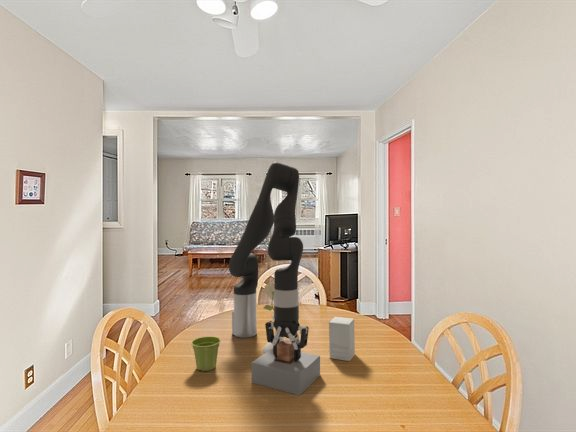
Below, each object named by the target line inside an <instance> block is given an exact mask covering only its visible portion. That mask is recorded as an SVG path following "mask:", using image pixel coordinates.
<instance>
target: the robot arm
mask: <svg viewBox="0 0 576 432" xmlns="http://www.w3.org/2000/svg"><path fill="white" fill-rule="evenodd" d="M299 184H300V172H299V169H297V168H295V167H293V166H290V165H287V164H284V163H281V162H278V161H274V162H272V163H271V164H270V165H269V168H268V169H267V173H266V175H265V178H264V180H263V184H262V187H261V191H260V193H259V196H258V198H257V201H256V203H255V205H254V207H253V210H252V212H251V214H250V217H249V218H248V220H247V224H246V226H245V229H244V232H243V234H242V236H241V238H240V240H239V242H238V245H237V246H236V247H235V250H234V251H233V253H232V255H231V257H230V259H229V263H228V271H229V273H230V275H231V276H232V277H234V278H241V277H242V279H241V280H240V281H239V282H238V283H237V284H235V285H234V287H233V310H232V312H231V331H232V332H231V335H234V337H236V338H239V339H240V338H241V339H243V338H244V339H245V338H247V339H248V338H253V337H255V336H256V335H257V331H258V330H257V329H258V328H257V323H258V322H257V310H258V309H257V287H258V284H259V260H258V257H257V256H256V254H255V253H252V252H253V251H254V250H255V249H256V248H257V247H258V246H260V245H261V244H262V243H263V242H264V241H265V240H266V238H268V236H269V235H270V232H271V230H272V229H273V231H272V234H271V238H270V240H269V243H268V246H267V255H268V257H269V258H270V259H271V260H272V261H276V262H277V261H278V262H280V261H281V262H283V261H284V262H285V261H287V262H288V261H290V264H289V265H287V266H283V267H279V268H277V269H275V271H274V274H273V276H274V278H273V279H274V281H273V282H274V283H273V284H274V288H275V289H274V300H273V308H274V310H273V315H274V319H275V320H269V321H267V322H265V324H264V327H265V335H266V341H267V343H268V342H271V343H272V344H273V354H274V355H275V357H276V358H277V343H279V342H280V340H281V337H283V338H286V339H289V341H291V343H293V346H294V348H295V349H294V361H295V362H297V361H298V360H299V359H300V358H301V352H302V349H304V348H305V347H306V346H307V345H308V339H309V330H310V328H309V326H302V325H300V323H299V319H300V314H299V313H300V310H299V308H300V307H299V306H300V301H299V298H300V297H299V287H298V284H299V283H298V282H299V281H298V280H299V279H298V277H299V276H298V275H299V268H300V262H301V258H302V256H303V252H304V244H303V241H302V239H301V238H300V237H297V236H294V235H295V234H296V232H297V221H296V220H297V218H296V207H297V200H298V195H299V194H298V193H299V186H300V185H299ZM273 189H274V190H279V191H281V192H282V191H283V192H286V196H285V198H283V200H281V202H279V204H278V205H277V206H276V207H275V210H273V206H272V198H271V194H272V192H273V191H272V190H273ZM274 329H276V331H277V332H276V334H275V330H274ZM298 332H299V333H298ZM299 334H300V336H299Z"/></svg>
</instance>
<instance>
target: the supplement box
mask: <svg viewBox="0 0 576 432" xmlns="http://www.w3.org/2000/svg"><path fill="white" fill-rule="evenodd" d="M328 333H329V334H328V336H329V337H328V339H329V343H328V344H329V345H328V347H329V348H328V349H329V359H332V360H333V359H335V360H340V361H346V362H351V360H352V359H353V357H354V356H355V354H356V351H355V345H356V343H355V318H350V317H341V316H334V317H333V318H332V319H331V320H330V321H328Z"/></svg>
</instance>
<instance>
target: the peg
mask: <svg viewBox="0 0 576 432" xmlns="http://www.w3.org/2000/svg"><path fill="white" fill-rule="evenodd" d="M294 349H295V348H294V346H293V343H291V341H290V339H289V340H288V339H285V340H282V341H280V342H279V343H277V362H282V363H286V364H291V363H293V362H294Z"/></svg>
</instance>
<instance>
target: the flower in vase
mask: <svg viewBox="0 0 576 432" xmlns="http://www.w3.org/2000/svg"><path fill="white" fill-rule="evenodd" d="M274 289H275V288H274V283H273V282H272V283H271V282H270V283H268V284H265V285H264V286H263V293H264V294H265V295H266V297H267V298H269V299H271V305H270V304H265V305H264V306H263V309H264V310H267V311H270V312H271V311H272V310H273V311H274ZM271 318H272V321H274V320H275V319H274V314H272V315H271ZM274 329H275V328H274ZM276 332H277V331H276V329H275V330H274V335H275V334H276ZM282 340H286V339H285V337H281V340H280V341H282ZM271 349H273V344H272V343H271V342H268V341H267V343H266V344H265V345H264V346H263V348H262V353H263V355H264V354H265V353H267V352H268V351H270V350H271Z"/></svg>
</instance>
